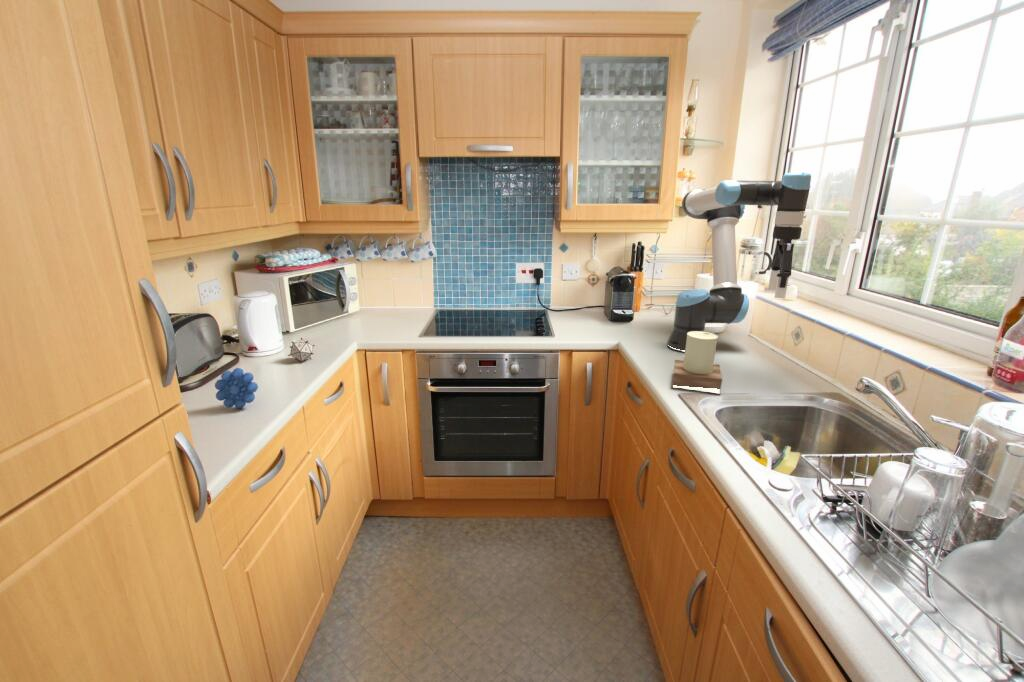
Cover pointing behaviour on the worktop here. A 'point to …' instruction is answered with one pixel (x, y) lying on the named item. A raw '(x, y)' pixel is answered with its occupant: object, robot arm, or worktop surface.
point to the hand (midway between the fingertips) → (775, 294)
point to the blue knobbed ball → (236, 388)
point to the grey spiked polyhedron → (301, 350)
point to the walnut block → (696, 377)
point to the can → (700, 352)
